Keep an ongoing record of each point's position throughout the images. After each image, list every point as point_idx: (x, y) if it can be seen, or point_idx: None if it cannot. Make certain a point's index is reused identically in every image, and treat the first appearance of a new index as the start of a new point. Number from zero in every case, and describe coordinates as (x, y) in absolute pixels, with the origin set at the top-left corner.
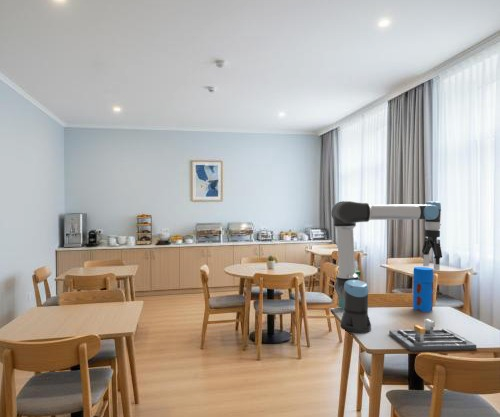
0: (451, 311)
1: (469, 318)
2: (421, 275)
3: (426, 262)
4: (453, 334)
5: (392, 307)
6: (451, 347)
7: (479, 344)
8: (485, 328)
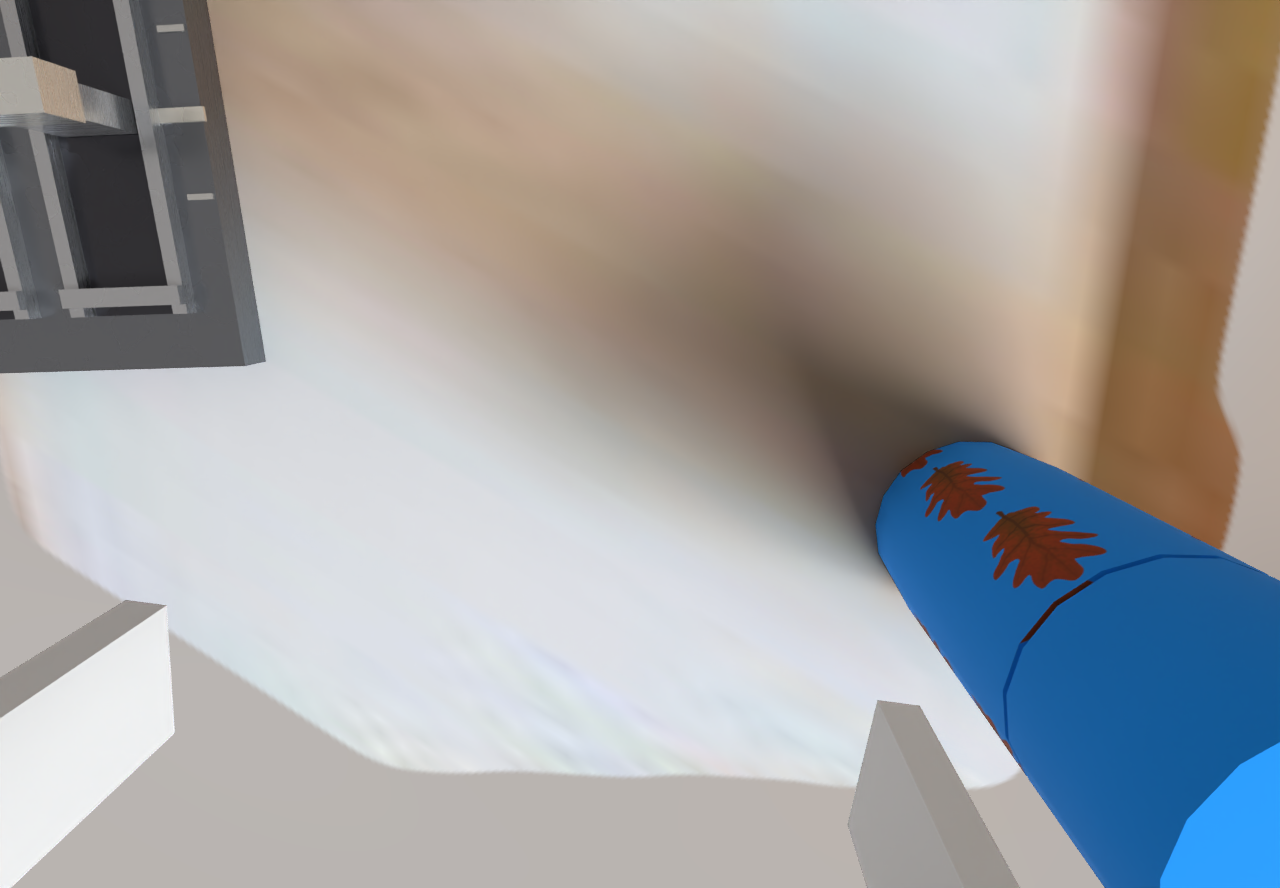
0: None
1: (663, 768)
2: (1134, 679)
3: (898, 865)
4: (72, 316)
5: (1081, 230)
6: None
7: (57, 460)
8: (417, 726)
